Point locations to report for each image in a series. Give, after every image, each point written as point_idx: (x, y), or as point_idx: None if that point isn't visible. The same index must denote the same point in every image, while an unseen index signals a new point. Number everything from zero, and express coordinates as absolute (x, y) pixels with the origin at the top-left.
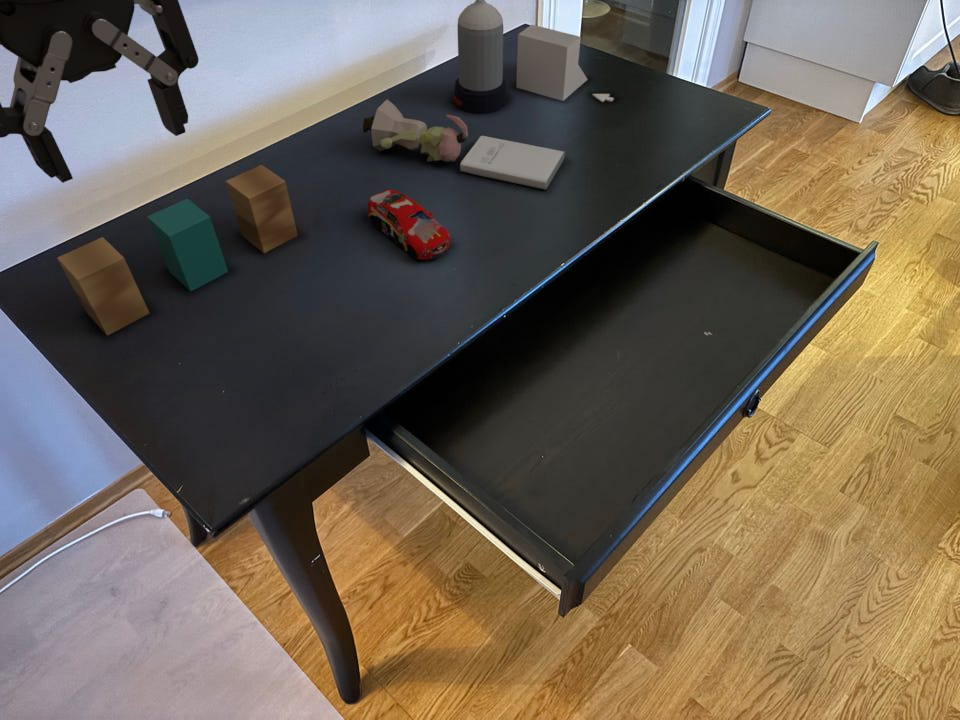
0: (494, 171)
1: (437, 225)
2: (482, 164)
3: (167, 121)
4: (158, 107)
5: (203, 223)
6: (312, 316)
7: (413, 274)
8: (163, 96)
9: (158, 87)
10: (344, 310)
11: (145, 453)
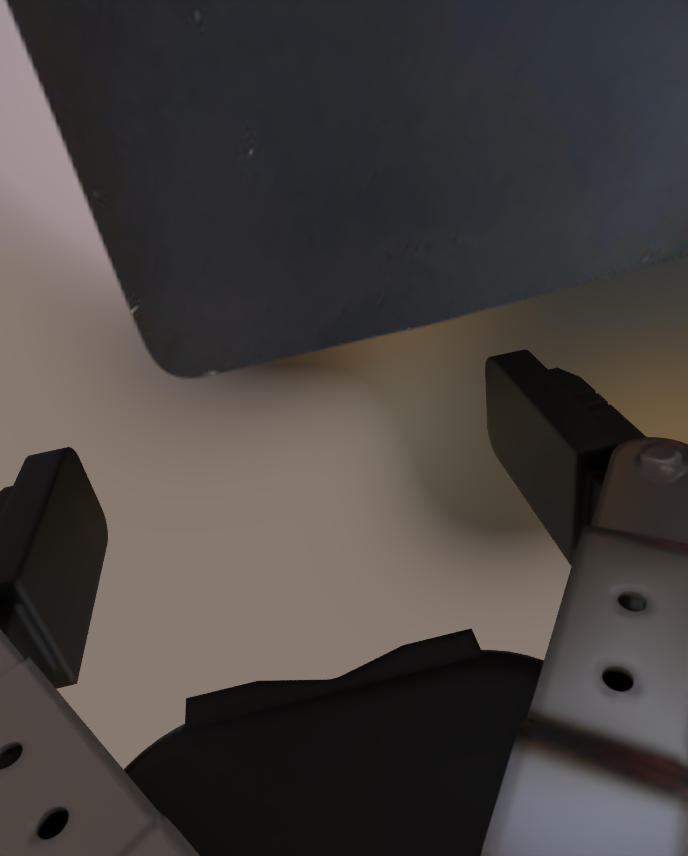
0: None
1: None
2: None
3: (503, 420)
4: (520, 404)
5: None
6: (472, 56)
7: (684, 67)
8: (556, 534)
9: (573, 538)
10: (526, 81)
11: (92, 213)
